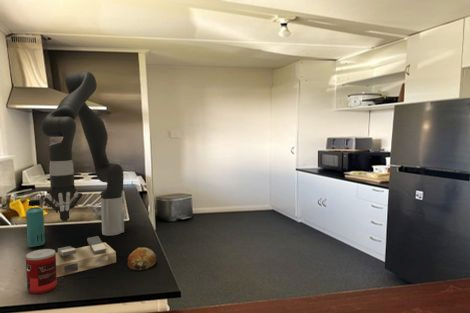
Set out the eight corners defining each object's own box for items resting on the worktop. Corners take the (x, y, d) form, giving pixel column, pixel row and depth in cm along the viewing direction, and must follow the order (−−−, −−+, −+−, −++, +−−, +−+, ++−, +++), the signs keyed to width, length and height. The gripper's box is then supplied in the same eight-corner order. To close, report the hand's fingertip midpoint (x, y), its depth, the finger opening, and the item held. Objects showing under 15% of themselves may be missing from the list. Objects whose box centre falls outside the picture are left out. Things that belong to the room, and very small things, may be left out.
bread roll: (158, 273, 117) (163, 250, 120) (143, 271, 108) (149, 247, 111) (136, 269, 120) (141, 247, 123) (119, 267, 111) (125, 244, 114)
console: (105, 252, 128) (105, 242, 127) (116, 262, 117) (116, 252, 117) (48, 264, 115) (47, 254, 115) (54, 278, 105) (54, 266, 104)
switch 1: (70, 251, 118) (70, 245, 118) (76, 255, 110) (75, 249, 110) (57, 254, 115) (57, 248, 115) (63, 258, 108) (62, 252, 108)
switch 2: (98, 240, 124) (98, 235, 124) (105, 253, 117) (106, 248, 116) (87, 242, 122) (87, 237, 121) (94, 256, 114) (94, 250, 114)
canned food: (35, 282, 102) (33, 249, 101) (61, 281, 102) (60, 248, 102) (21, 294, 94) (19, 258, 93) (49, 293, 95) (48, 257, 94)
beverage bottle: (37, 250, 129) (34, 202, 128) (23, 249, 130) (20, 201, 129) (49, 245, 136) (47, 198, 134) (36, 244, 137) (33, 198, 135)
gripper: (79, 170, 120) (81, 215, 122) (38, 173, 112) (41, 222, 114) (84, 172, 114) (87, 219, 116) (42, 176, 106) (45, 226, 108)
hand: (64, 220), depth 115 cm, fingers closed
